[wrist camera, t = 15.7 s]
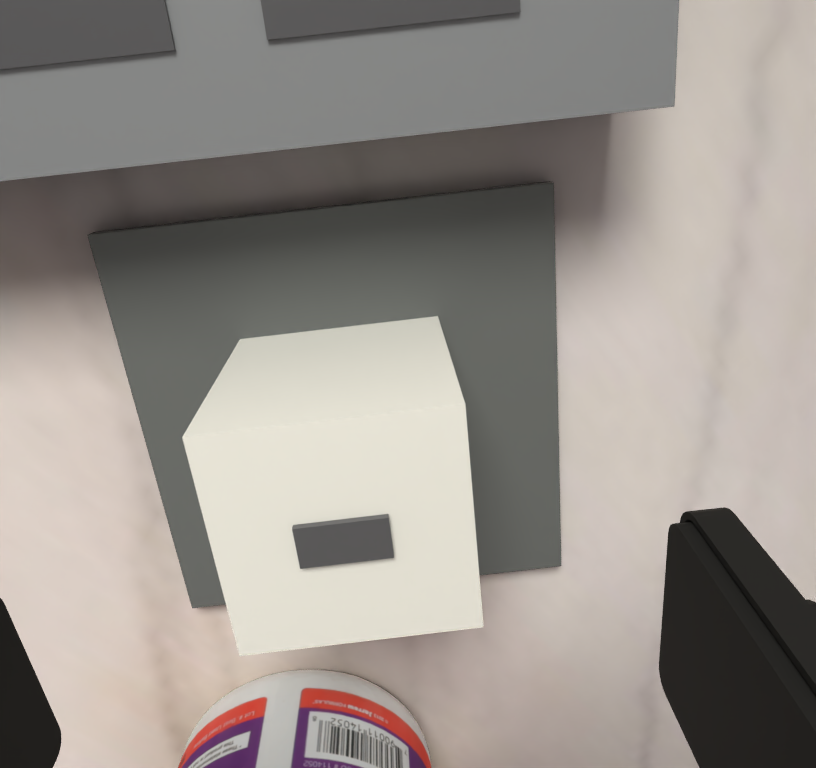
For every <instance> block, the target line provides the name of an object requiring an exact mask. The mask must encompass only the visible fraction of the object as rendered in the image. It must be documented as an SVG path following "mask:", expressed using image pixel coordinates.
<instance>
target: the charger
mask: <svg viewBox="0 0 816 768" xmlns="http://www.w3.org/2000/svg"><path fill="white" fill-rule="evenodd" d="M182 439H183V442H184V446H185V450H186V454H187V458H188V461H189V465H190V469H191V473H192V477H193V481H194V484H195V488H196V492H197V496H198V500H199V504H200V507H201V511H202V515H203V519H204V523H205V526H206V530H207V534H208V538H209V542H210V546H211V549H212V553H213V557H214V561H215V565H216V568H217V572H218V576H219V580H220V584H221V588H222V591H223V595H224V599H225V603H226V607H227V610H228V614H229V618H230V622H231V626H232V630H233V633H234V637H235V641H236V645H237V649H238V652H239V656H245V655H254V654H262V653H270V652H279V651H287V650H296V649H304V648H313V647H321V646H330V645H338V644H347V643H355V642H363V641H372V640H380V639H389V638H397V637H406V636H414V635H423V634H431V633H440V632H448V631H456V630H465V629H473V628H482V627H484V626H483V614H482V601H481V589H480V577H479V565H478V552H477V540H476V528H475V516H474V503H473V491H472V479H471V467H470V454H469V442H468V430H467V418H466V405H465V401H464V398H463V395H462V392H461V388H460V385H459V382H458V379H457V376H456V372H455V369H454V366H453V363H452V360H451V357H450V353H449V350H448V347H447V344H446V341H445V337H444V334H443V331H442V328H441V325H440V321H439V318H438V316H434V317H426V318H417V319H408V320H400V321H391V322H383V323H374V324H366V325H357V326H348V327H340V328H331V329H323V330H314V331H306V332H297V333H288V334H280V335H271V336H263V337H254V338H246V339H240V340H239V342H238V343H237V345H236V347H235V348H234V350H233V352H232V354H231V355H230V357H229V359H228V360H227V362H226V364H225V365H224V367H223V369H222V371H221V372H220V374H219V376H218V377H217V379H216V381H215V382H214V384H213V386H212V387H211V389H210V391H209V393H208V394H207V396H206V398H205V399H204V401H203V403H202V404H201V406H200V408H199V410H198V411H197V413H196V415H195V416H194V418H193V420H192V421H191V423H190V425H189V427H188V428H187V430H186V432H185V433H184V435H183V437H182Z"/></svg>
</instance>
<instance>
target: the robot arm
mask: <svg viewBox="0 0 816 768" xmlns="http://www.w3.org/2000/svg"><path fill="white" fill-rule="evenodd" d="M659 672H660V678H661V683H662V686H663V690H664V692H665V695H666V697H667V699H668V701H669V703H670V705H671V708H672V710H673V712H674V714H675V716H676V718H677V720H678V723H679V725H680V727H681V729H682V731H683V733H684V735H685V738H686V740H687V742H688V744H689V746H690V748H691V750H692V753H693V755H694V757H695V759H696V761H697V763H698V765H699V768H816V603H815V602H813V601H811V600H805V599H804V597H803V596H802V595H801V594H800V593H799V591H798V590H797V589H796V588H795V587H794V585H793V584H792V583H791V582H790V580H789V579H788V578H787V577H786V576H785V574H784V573H783V572H782V571H781V570H780V568H779V567H778V566H777V565H776V563H775V562H774V561H773V560H772V559H771V557H770V556H769V555H768V554H767V553H766V551H765V550H764V549H763V548H762V546H761V545H760V544H759V543H758V542H757V540H756V539H755V538H754V537H753V536H752V534H751V533H750V532H749V531H748V530H747V528H746V527H745V526H744V525H743V523H742V522H741V521H740V520H739V519H738V517H737V516H736V515H735V514H734V513H733V512H732V511H731V510H730V509H728V508H716V509H706V510H697V511H687V512H685V513H683V515H682V516H681V520H680V523H676V524H672V525H670V527H669V532H668V545H667V559H666V573H665V587H664V602H663V616H662V630H661V644H660V659H659ZM60 746H61V731H60V728H59V725H58V723H57V721H56V718H55V716H54V714H53V712H52V709H51V707H50V705H49V703H48V700H47V698H46V696H45V694H44V691H43V689H42V687H41V685H40V683H39V680H38V678H37V676H36V674H35V671H34V669H33V667H32V665H31V662H30V660H29V658H28V656H27V653H26V651H25V649H24V647H23V644H22V642H21V640H20V638H19V635H18V633H17V631H16V629H15V627H14V624H13V622H12V620H11V618H10V615H9V613H8V611H7V609H6V606H5V604H4V602H3V601H2V599H1V598H0V768H53V766H54V764H55V762H56V759H57V757H58V754H59V751H60Z"/></svg>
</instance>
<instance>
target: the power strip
mask: <svg viewBox="0 0 816 768" xmlns="http://www.w3.org/2000/svg"><path fill="white" fill-rule="evenodd" d="M678 13H679V0H0V181H8V180H17V179H26V178H35V177H44V176H53V175H62V174H71V173H80V172H89V171H98V170H107V169H116V168H125V167H134V166H143V165H152V164H161V163H170V162H179V161H188V160H197V159H206V158H215V157H224V156H233V155H242V154H251V153H260V152H269V151H278V150H287V149H296V148H305V147H314V146H323V145H332V144H341V143H350V142H359V141H368V140H377V139H386V138H395V137H404V136H413V135H422V134H431V133H440V132H449V131H458V130H467V129H476V128H485V127H494V126H503V125H512V124H521V123H530V122H539V121H548V120H557V119H566V118H575V117H584V116H593V115H602V114H611V113H620V112H629V111H638V110H647V109H656V108H665V107H674V104H675V81H676V58H677V36H678Z"/></svg>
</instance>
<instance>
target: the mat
mask: <svg viewBox="0 0 816 768" xmlns="http://www.w3.org/2000/svg"><path fill="white" fill-rule="evenodd" d="M88 239H89V242H90V246H91V249H92V253H93V256H94V260H95V263H96V267H97V271H98V274H99V278H100V281H101V285H102V288H103V292H104V296H105V299H106V303H107V306H108V310H109V313H110V317H111V320H112V324H113V328H114V331H115V335H116V338H117V342H118V345H119V349H120V353H121V356H122V360H123V363H124V367H125V370H126V374H127V377H128V381H129V385H130V388H131V392H132V395H133V399H134V402H135V406H136V410H137V413H138V417H139V420H140V424H141V427H142V431H143V434H144V438H145V442H146V445H147V449H148V452H149V456H150V459H151V463H152V467H153V470H154V474H155V477H156V481H157V484H158V488H159V491H160V495H161V499H162V502H163V506H164V509H165V513H166V516H167V520H168V524H169V527H170V531H171V534H172V538H173V541H174V545H175V548H176V552H177V556H178V559H179V563H180V566H181V570H182V573H183V577H184V581H185V584H186V588H187V591H188V595H189V598H190V602H191V605H192V608H198V607H207V606H216V605H225V604H226V603H225V599H224V595H223V591H222V588H221V584H220V580H219V576H218V572H217V568H216V565H215V561H214V557H213V553H212V549H211V546H210V542H209V538H208V534H207V530H206V526H205V523H204V519H203V515H202V511H201V507H200V504H199V500H198V496H197V492H196V488H195V484H194V481H193V477H192V473H191V469H190V465H189V461H188V458H187V454H186V450H185V446H184V442H183V439H182V437H183V435H184V433H185V432H186V430H187V428H188V427H189V425H190V423H191V421H192V420H193V418H194V416H195V415H196V413H197V411H198V410H199V408H200V406H201V404H202V403H203V401H204V399H205V398H206V396H207V394H208V393H209V391H210V389H211V387H212V386H213V384H214V382H215V381H216V379H217V377H218V376H219V374H220V372H221V371H222V369H223V367H224V365H225V364H226V362H227V360H228V359H229V357H230V355H231V354H232V352H233V350H234V348H235V347H236V345H237V343H238V342H239V340H240V339H246V338H254V337H263V336H271V335H280V334H288V333H297V332H306V331H314V330H323V329H331V328H340V327H348V326H357V325H366V324H374V323H383V322H391V321H400V320H408V319H417V318H426V317H434V316H438V318H439V321H440V325H441V328H442V331H443V334H444V337H445V341H446V344H447V347H448V350H449V353H450V357H451V360H452V363H453V366H454V369H455V372H456V376H457V379H458V382H459V385H460V388H461V392H462V395H463V398H464V401H465V405H466V418H467V430H468V442H469V454H470V467H471V479H472V491H473V503H474V516H475V528H476V540H477V552H478V565H479V575H487V574H496V573H504V572H513V571H522V570H530V569H539V568H548V567H557V566H561V534H560V483H559V433H558V382H557V331H556V281H555V230H554V183H552V182H550V181H549V182H540V183H531V184H522V185H513V186H504V187H495V188H487V189H478V190H469V191H460V192H451V193H442V194H433V195H424V196H415V197H406V198H397V199H388V200H379V201H370V202H361V203H352V204H343V205H334V206H325V207H316V208H307V209H298V210H289V211H280V212H271V213H262V214H253V215H245V216H236V217H227V218H218V219H209V220H200V221H191V222H182V223H173V224H164V225H155V226H146V227H137V228H128V229H119V230H110V231H101V232H94V233H91V234H89V235H88Z"/></svg>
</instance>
